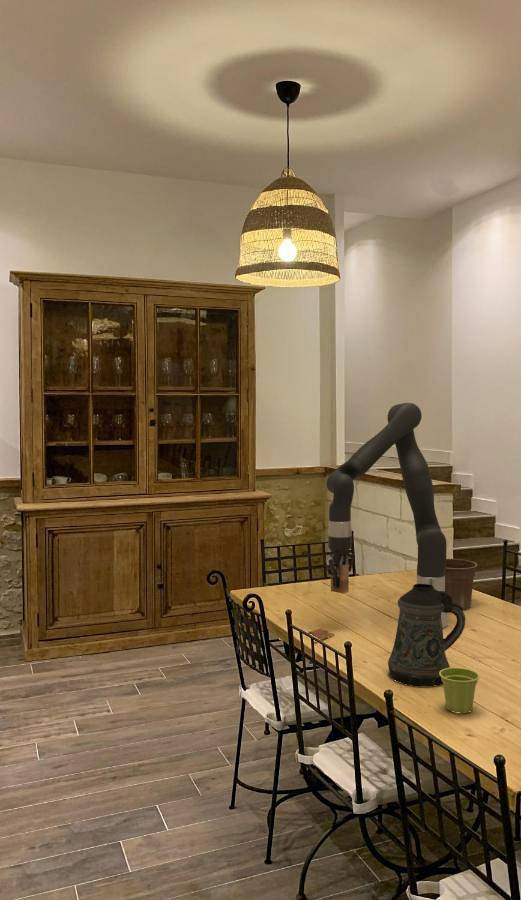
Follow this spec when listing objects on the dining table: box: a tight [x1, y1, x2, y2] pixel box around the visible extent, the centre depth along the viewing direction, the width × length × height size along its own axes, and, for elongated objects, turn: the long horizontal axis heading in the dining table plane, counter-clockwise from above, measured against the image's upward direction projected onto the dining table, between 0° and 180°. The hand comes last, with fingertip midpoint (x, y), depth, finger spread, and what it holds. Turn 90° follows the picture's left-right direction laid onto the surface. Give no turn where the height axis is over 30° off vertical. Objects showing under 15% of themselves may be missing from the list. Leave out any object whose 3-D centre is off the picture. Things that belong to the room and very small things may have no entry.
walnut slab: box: [330, 564, 350, 594], centre depth 240 cm, size 5×3×9 cm, turn 47°
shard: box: [308, 628, 335, 644], centre depth 234 cm, size 11×8×2 cm
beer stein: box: [387, 583, 467, 688], centre depth 200 cm, size 16×19×25 cm
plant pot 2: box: [439, 667, 480, 714], centre depth 178 cm, size 9×9×9 cm
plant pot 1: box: [445, 558, 478, 611], centre depth 270 cm, size 16×16×16 cm
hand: (339, 586), depth 240 cm, fingers closed on walnut slab, 3 cm apart
